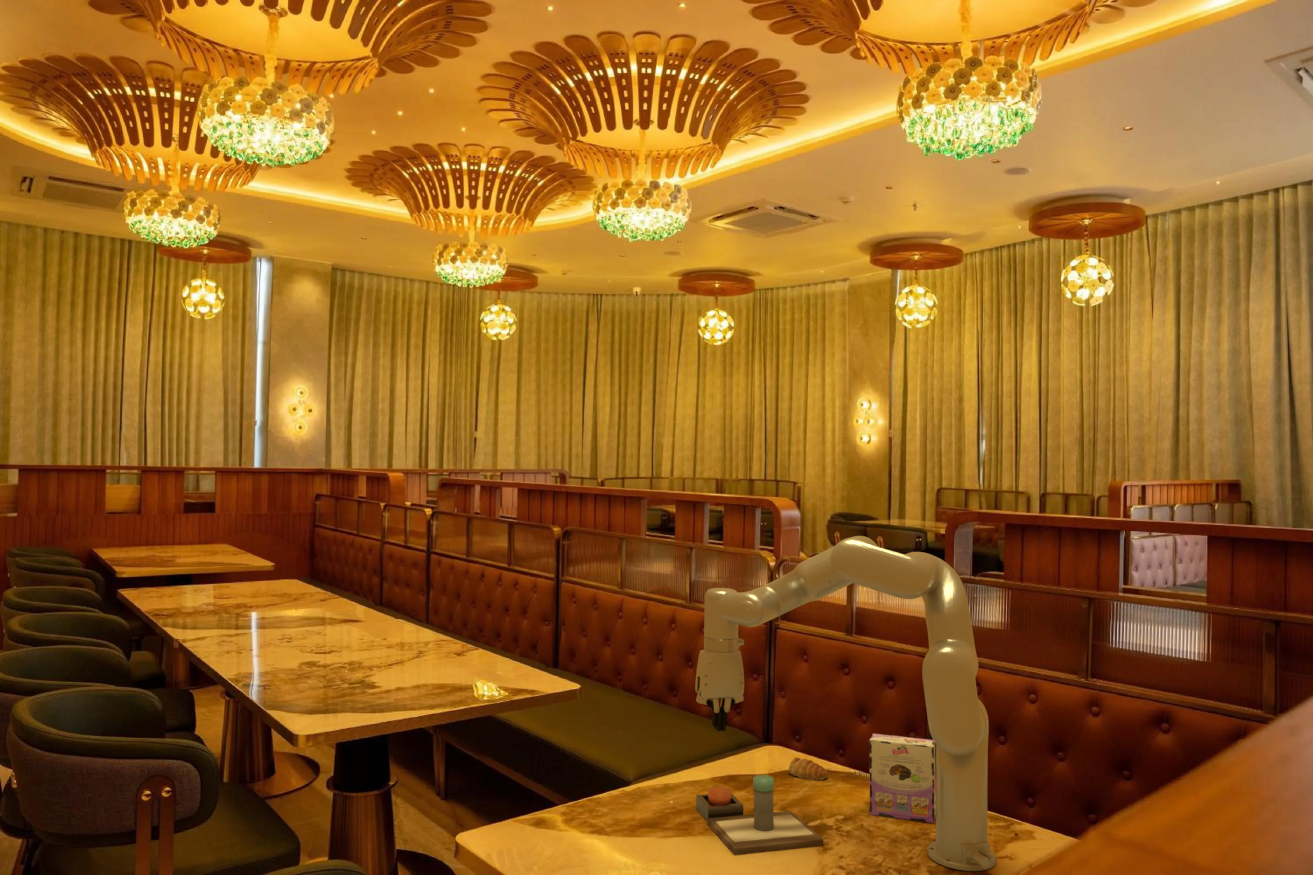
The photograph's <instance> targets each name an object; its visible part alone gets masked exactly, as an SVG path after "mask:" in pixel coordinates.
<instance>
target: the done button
mask: <svg viewBox="0 0 1313 875" xmlns="http://www.w3.org/2000/svg"><path fill="white" fill-rule="evenodd" d="M731 793H732V790H731V789H729V788H728V787H723V786H713V787H710V788H708V790H707V794H708V803H709V804H711V805H714V806H715V805H726V804H731Z"/></svg>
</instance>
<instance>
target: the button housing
mask: <svg viewBox="0 0 1313 875" xmlns="http://www.w3.org/2000/svg"><path fill="white" fill-rule="evenodd" d="M695 799H696V801H695V803H696V804H695V809H696V810H697V811H698V813H699V814H700V815H701V816H702V817H703V818H704V819H705V820H706V821H707V818H718V817H728V816H739V815H744V804H743V803H742V802H741V801H740V800H739V799H738V798H737V796H735V795H734V794H733V793H732V792H731V804H726V805H715V806H714V805H711V804H709V803H708V793H706V794H705V793H704V794H703V793H702V794H696V796H695Z"/></svg>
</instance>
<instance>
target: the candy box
mask: <svg viewBox="0 0 1313 875" xmlns="http://www.w3.org/2000/svg"><path fill="white" fill-rule="evenodd" d="M868 744H869V749H868V750H869V812H868V814H869V815H871V816H877V817H878V816H879V817H886V818H893V819H894V818H895V819H899V820H900V819H901V820H908V821H909V820H910V821H916V822H922V823H933V824H935V822H936V743H935V742H934V740H933V739H927V738H919V737H918V738H917V737H910V736H908V737H907V736H900V735H889V734H881V733H872V734H871V737H870V738H869V740H868Z"/></svg>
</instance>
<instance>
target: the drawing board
mask: <svg viewBox="0 0 1313 875" xmlns="http://www.w3.org/2000/svg"><path fill="white" fill-rule="evenodd" d="M706 823H707V826H708V827H709V828H710V829H711V830H712V832H714V833H715V835H716V836H717V837H718V838H719V839H720V841H721V842H722V843H723V844H724V845H725V847H727V848H728V850H729V851H730V852H731V853H732V854H733V855H734V856H738V854H739V855H748V853H749V854H756V853H757V852H758V853H766V851H768V852H774V851H775V852H776V851H785V850H795V849H803V848H804V849H805V848H812V847H822V846H824V839H823V837H822V836H820V835H819V834H818V833H816V831H814V830H813V829H812V828H811V827H810V826H809V825H807V824H806V823H805V822H804V821H803V820H802V819H800V818H799V817H798V816H797V815H796V814H795V813H793V811H791V810H785V811H784V810H782V811H774V829H773V830H771V831H758V830H756V829H755V828H754V813H752V814H751V813H750V814H743V815H739V816H728V817H718V818H707V820H706ZM755 852H756V853H755Z"/></svg>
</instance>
